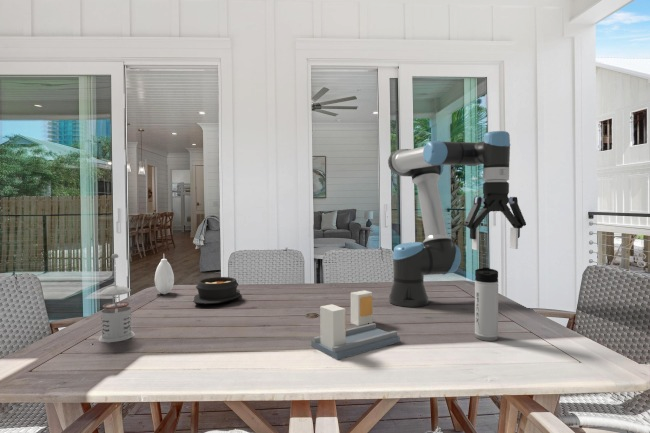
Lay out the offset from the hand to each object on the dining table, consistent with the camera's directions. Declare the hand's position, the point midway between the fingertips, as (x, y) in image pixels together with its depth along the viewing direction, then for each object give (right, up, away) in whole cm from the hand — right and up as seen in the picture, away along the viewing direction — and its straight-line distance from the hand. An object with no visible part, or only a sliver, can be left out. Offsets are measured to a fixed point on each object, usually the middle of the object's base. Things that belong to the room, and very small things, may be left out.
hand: (494, 249), depth 125 cm
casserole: (-98, -24, +38) cm, 108 cm away
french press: (-117, -26, -5) cm, 120 cm away
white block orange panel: (-41, -25, +5) cm, 49 cm away
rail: (-45, -25, -14) cm, 54 cm away
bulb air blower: (-125, -24, +51) cm, 137 cm away
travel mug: (-7, -25, -10) cm, 28 cm away
